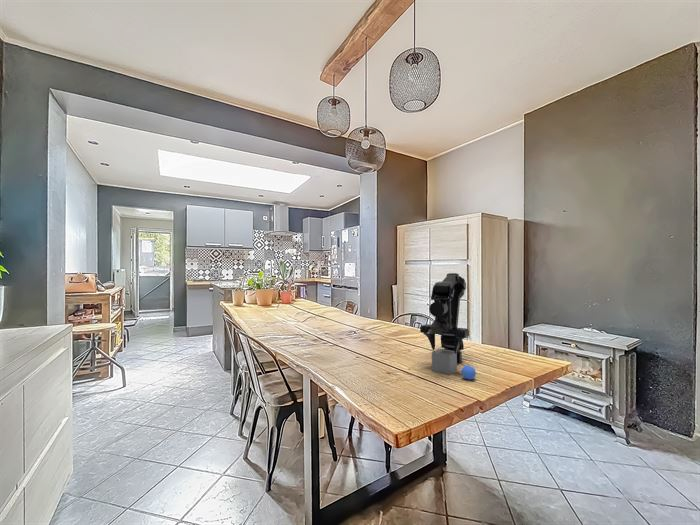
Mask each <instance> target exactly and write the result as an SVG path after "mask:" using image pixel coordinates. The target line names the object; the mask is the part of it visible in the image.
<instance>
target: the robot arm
mask: <svg viewBox="0 0 700 525" xmlns="http://www.w3.org/2000/svg"><path fill="white" fill-rule="evenodd" d="M465 290H467V283H466V279H464V278H463V277H461V276H460V274H459V273H457V272H451V273H449V272H448V273H446V276H445V277H444V278H443V280H442V281H438V282H435V283H434V285H433V287H432V289H431V295H430V301H433V302H432V303H431V304H430V305H429V308H428V309H429V313H430V314H431V316H433V317H434V321H433V322H432V323H431V324H430V323H429V324H428V323H426V324H422V325H421V326H420V328H419V329H420V330H419V331H420V332H419V333H422V334H423V335H424V336H426V338H427V339H428V341H429V343H430V347H431V350H432V351H435V350H436V335H438V336H440V343H441V345H440V346H441V349H446V350H452V351H454V353H455V354H456V353H457V365H459V364H461V363H462V362H463V358H462V357H463V356H462V355H463V353H462V351H463V350H464V349H465V348H464V341H463V340H464V339H465V338H467V337H469V336H470V330H469V329H468V328H465V327H464V328H463V327H459V326H458V324H459V316H460V315H459V314H460V303H461V298H463V297H464V295H465V292H466V291H465Z"/></svg>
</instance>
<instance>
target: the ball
mask: <svg viewBox="0 0 700 525" xmlns="http://www.w3.org/2000/svg"><path fill="white" fill-rule="evenodd" d="M476 374H477V372H476V369H475V368H474V367H473V366H472V365H465V366H463V367H462V368H461V375H462V377H463V378H464V379H465V380H469V381H470V380H473V379H475V377H476Z"/></svg>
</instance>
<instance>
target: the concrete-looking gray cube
mask: <svg viewBox="0 0 700 525" xmlns="http://www.w3.org/2000/svg"><path fill="white" fill-rule="evenodd" d="M456 371H458V364H457V353H456V354H455V353H454V351H452V350H446V349H444V348H438V349H435V350H432V352H431V372H435V373H440V374H445V375H450V376H451V375H452V374H453V373H454V372H456Z"/></svg>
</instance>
